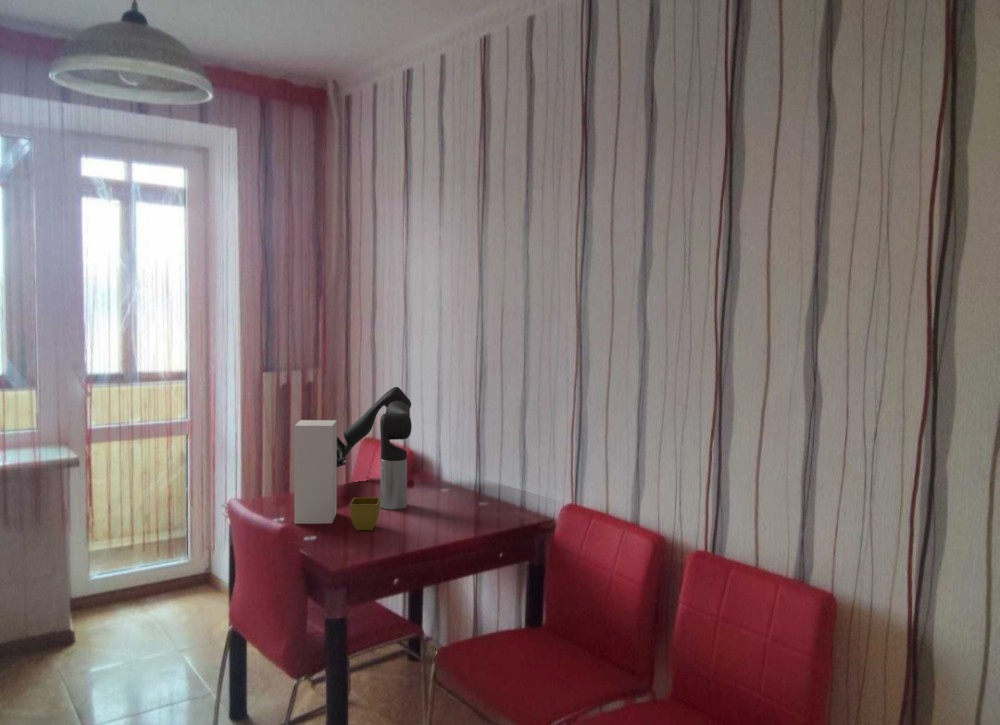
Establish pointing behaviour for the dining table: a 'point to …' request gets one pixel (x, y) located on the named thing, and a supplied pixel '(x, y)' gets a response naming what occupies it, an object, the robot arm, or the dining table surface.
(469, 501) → the dining table surface
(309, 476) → the off-white column
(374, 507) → the flower pot
